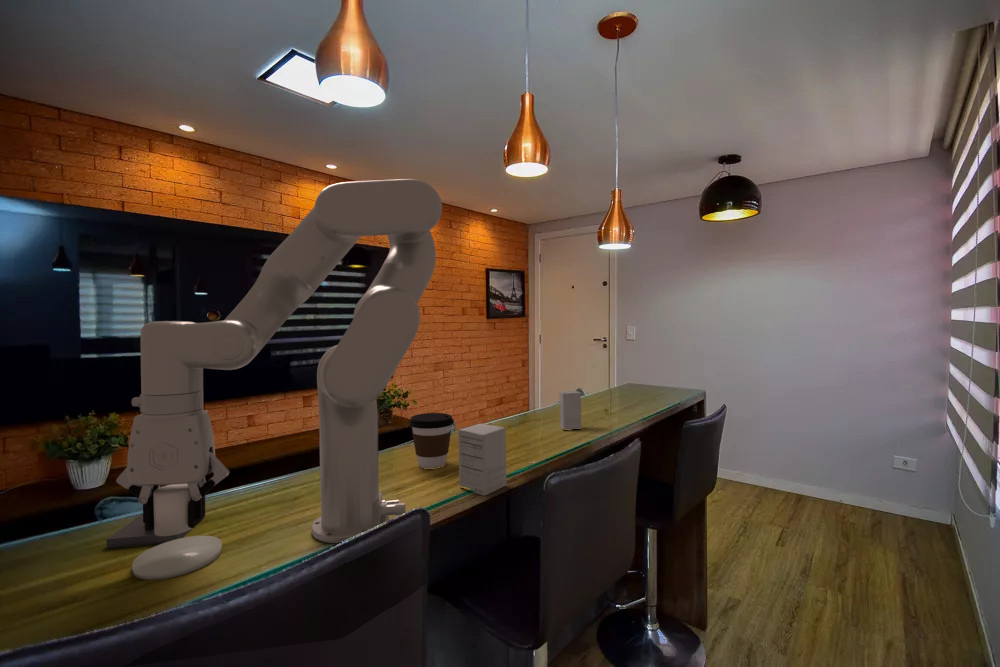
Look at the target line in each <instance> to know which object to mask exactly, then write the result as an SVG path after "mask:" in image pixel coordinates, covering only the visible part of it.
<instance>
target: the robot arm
mask: <svg viewBox="0 0 1000 667" xmlns="http://www.w3.org/2000/svg"><path fill="white" fill-rule="evenodd" d="M442 212H443V204H442V198H441V197H440V195H439V192H437V190H436V189H435V188H434V187H433V186H432V185H431V184H430V183H428V182H425V181H422V180H420V179H416V178H406V179H405V178H401V179H399V178H398V179H384V180H383V179H382V180H381V179H380V180H356V181H345V182H344V181H343V182H342V181H341V182H338V183H337V182H336V183H334V184H330V185H328V186H327V187H324V188H323V189H322V190H321V191H320V193H318V196H317V197H316V199H315V204H314V206H313V207H312V209H311V210H310V211H309V212H308V213H307V215H305V217H304V218H302V220H301V221H299V224H298V225H297V226H295V228H294V229H293V230H292V231H291V232H290V234H288V236H287V237H285V239H284V240H283V241H282V242H281V243H280V244H279V245H278V246H277V247H276V248H275V250H273V252H272V253H271V254H270V255H269V256H268V258H267V259H266V261H265V263H264V264H263V267H262V268H261V271H260V273H259V275H258V277H257V279H256V280H255V282H254V284H253V286H252V287H251V288H250V289H249V290H248V292H247V294H246V295H245V296H244V297H243V298H242V299H241V300H240V302H238V304H237V305H236V306H235V307H234V309H232V311H231V312H229V314H228V315H227V316H226V317H225V319H224V320H217V321H216V320H215V321H207V322H194V321H188V320H187V321H183V320H171V321H170V320H163V321H162V320H161V321H160V320H159V321H158V320H157V321H150V322H149V321H148V322H147V323H145V324H143V325H142V327H141V329H140V383H141V384H140V389H141V393H140V394H139V396H138V397H137V396H135V397H133V398H132V399H131V406H132V407H138V408H139V412H141V414H137V415H135V416H134V419H133V422H132V425H131V431H130V437H129V441H128V451H127V464H126V468H124V469H123V471H122V472H121V473H120V474H119V475H118V477H117V478H116V480H115V481H116V483H117V485H120V486H121V487H123V488H124V489H126V490H128V492H129V493H130V494H132V495H133V496H134V497H135V498H137V499H138V500H137V501H138V503H139V504H140V505H142V514H143V522H144V523H145V530H146V531H151V530H152V529H154V499H153V492H154V491H155V490H156V489H158V488H160V487H161V486H167V485H171V484H187V485H188V487H189V490H190V493H191V498H192V500H190V501H189V502H188V527H189V528H192V529H195V528H196V526H198V525H199V524H200V523H201V522H202V521H203V519H204V518H205V517H206V495H207V494H208V493H209V492H210V491H211V490H212V489H213V488H214V487H215V486H216V485H217V484H219V483H220V482H221V481H223V480H224V479H225V478H226V477H228V476H229V474H230V470H229V469H228V468H227V467H226V466H225V465H224V464H223V463H222V462H221V460H219V459H218V458H217V456H216V448H215V438H214V430H213V426H212V422H211V417H210V414H209V411H208V410H207V409H205V410H204V369H210V370H222V371H223V370H224V371H233V370H238V369H241V368H243V367H245V366H247V365H248V364H250V363H251V362H252V360H254V358H255V357H257V355H258V354H259V353H260V352H261V350H263V348H264V347H265V346H266V345H267V343H268V342H269V341H270V339H271V338H272V337H273V336H274V335H275V333H277V331H279V329H280V328H281V326H283V325H284V323H286V321H287V320H288V319H289V318H290V316H291V315H292V314H293V313H294V312H295V311H296V310H297V309H299V307H300V306H302V305H303V304H304V303H305V302H306V301H307V300H309V299H310V297H311V296H312V295H313V294H314V292H315V291H317V289H318V288H319V287H320V285H321V284H322V283H323V282H324V281H325V280H326V278H327V277H328V276H329V275H330V274H331V272H332V271H333V270H334V269H335V268H336V266H337V265H338V264H339V263H340V262H341V261H342V259H344V257H345V256H346V255H347V254H348V253H349V251H350V250H351V249H352V248H353V246H354V245H356V243H357V242H358V241H359V239H360V238H361V237H371V236H373V237H375V236H386V237H387V239H388V242H389V252H388V253H387V257H386V259H385V260H384V262H383V264H382V265H381V268H380V270H379V271H378V273H377V275H376V276H375V277H374V279H373V280H372V282H371V284H370V286H368V288H367V290H366V292H365V293H364V294H363V296H361V298H360V299H359V300H358V301H357V303H356V306H355V308H354V310H353V319H352V321H351V323H350V324H349V326H348V328H347V329H346V331H345V332H344V334H343V336H342V337H341V339H340V340H339V342H338V344H336V345H333V346H332V347H330V348H329V349H327V350H326V351H325V353H324V354H323V355H322V356H321V358H320V360H319V362H318V365H317V370H316V385H317V388H316V389H317V399H318V419H319V420H318V423H319V425H318V426H319V474H320V478H319V481H320V512H321V513H320V516H319V517H317V518H316V519H315V520H314V521H313V523H312V524H311V535H312V536H313V537H314V539H317V540H318V541H320V542H323V543H328V544H340V543H339V542H341V541H344V540H346V539H348V538H350V537H353V536H355V535H357V534H359V533H361V532H364V531H366V530H368V529H371V528H373V527H375V526H377V525H379V524H381V523H383V522H385V521H387V520H389V518H390V516H402V515H401V514H403V513H405V512H406V511H407V510H406V502H401V503H400V500H399V499H391V500H386V499H383V492H380V486H379V485H380V481H379V480H380V478H379V475H380V474H379V419H378V418H379V416H378V414H379V413H378V405H377V398H378V397H379V396H380V395H381V394H382V392H383V391H384V390H385V388H386V387H387V385H388V383H389V382H390V380H391V379H392V377H393V375H394V373H395V372H396V370H397V368H398V367H399V365H400V363H401V361H402V360H403V358H404V356H405V355H406V353H407V351H408V350H409V348H410V347H411V344H412V343H413V341H414V338H415V337H416V335H417V332H418V330H419V327H420V323H421V311H420V307H419V305H418V303H419V302H420V300H421V298H422V296H423V294H424V292H425V290H426V289H427V287H428V285H429V283H430V281H431V279H432V278H433V277H432V276H433V273H434V272H435V268H436V263H437V262H436V261H437V252H436V244H435V241H434V238H433V234H432V232H431V230H432V229H434V228H435V227H436V225H437V224H438V223H439V221H440V219H441V216H442ZM210 473H213V476H212V477H211V478H209V479H208V480H207V481H206V476H207V475H208V474H210Z"/></svg>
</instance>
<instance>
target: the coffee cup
mask: <svg viewBox="0 0 1000 667" xmlns="http://www.w3.org/2000/svg"><path fill="white" fill-rule="evenodd" d="M454 424H455V420H454V418H453V416H452V415H451V414H449V413H443V412H426V413H419V414H415V415H413V416H411V417H410V420H409V421H408V426H409V427H411V428H412V432H411V433H412V438H413V439H412V440H413V444H414V450H415V455H416V458H417V462H418V463H417V464H418V466H419V467H421V468H420V469H422V468H427V469H428V468H430V469H431V468H438V467H442V466H443V465H446V463H447V460H448V459H447V457H448V453H449V448H450V442H451V436H452V430H451V429H452V425H454ZM442 468H443V467H442Z"/></svg>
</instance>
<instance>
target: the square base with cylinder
mask: <svg viewBox="0 0 1000 667" xmlns="http://www.w3.org/2000/svg"><path fill="white" fill-rule="evenodd" d="M191 530H192V529H190V530H188V531H186V532H183V533H180V534H176V535H171V536H157V535H155V534H154V529H152V530H151V531H146V530H145V523H144V522H143V513H141V514H140V515H139V516H137V517H136V518H134V519H133V520H131V521H130V522H129V523H127V524H126V525H124V526H123V527H122V528H120V529H118V531H115V533H113V534H112V535H110V536H109V537H107V538H106V541H105V542H106V549H116V548H119V549H120V548H129V547H141V546H142V547H143V546H152V545H154V546H155V545H160V544H163V543H166V542H169V541H172V540H176V539H180V538H184V537H185V536H186V535H187V534H188V533H189V532H190V531H191Z"/></svg>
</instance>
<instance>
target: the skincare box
mask: <svg viewBox="0 0 1000 667" xmlns="http://www.w3.org/2000/svg"><path fill="white" fill-rule="evenodd" d="M558 396H559V397H558V398H559V428H560V427H561V428H563V429H564V430H565V429H581V430H582V393H581V392H579V391H578V390H568V391H566V390H565V391H559V395H558ZM561 428H560V429H561Z"/></svg>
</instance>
